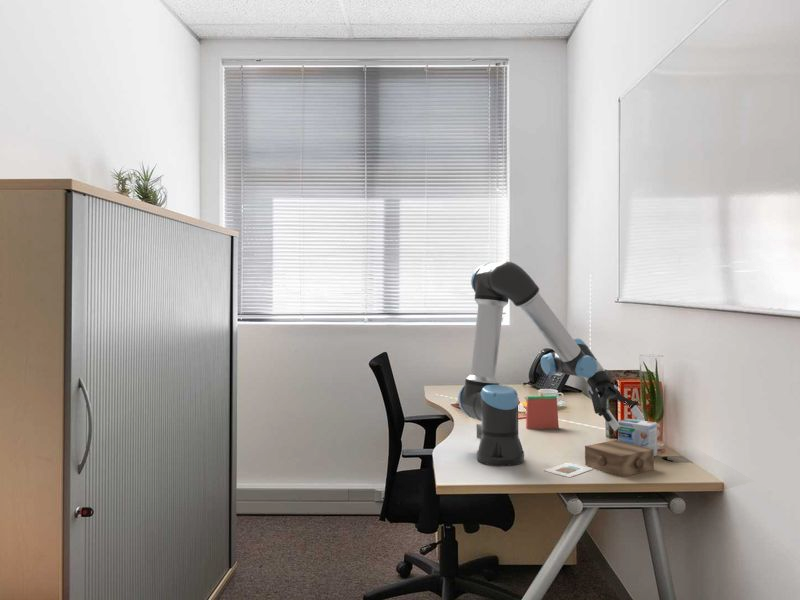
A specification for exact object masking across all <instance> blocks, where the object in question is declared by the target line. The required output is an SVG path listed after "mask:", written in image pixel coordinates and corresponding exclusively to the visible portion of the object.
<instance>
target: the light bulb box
mask: <svg viewBox="0 0 800 600" xmlns="http://www.w3.org/2000/svg"><path fill="white" fill-rule="evenodd" d="M617 422H618V423H619V425H620V427H619V428H618V429H617V440H619V441H623V442H626V443H630V444H634V445H638V446H642V447H646V448H650V449H654V457H656V456H658V422H656V421H649V420H648V421H642V420H637V419H636V418H635V419H633V418H627V417H626V418H624V419H621V420H619V421H618V420H617Z"/></svg>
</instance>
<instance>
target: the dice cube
mask: <svg viewBox="0 0 800 600" xmlns="http://www.w3.org/2000/svg"><path fill="white" fill-rule="evenodd" d="M476 438H478V439H479V438H480V440H481V438H482V423H476Z"/></svg>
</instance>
